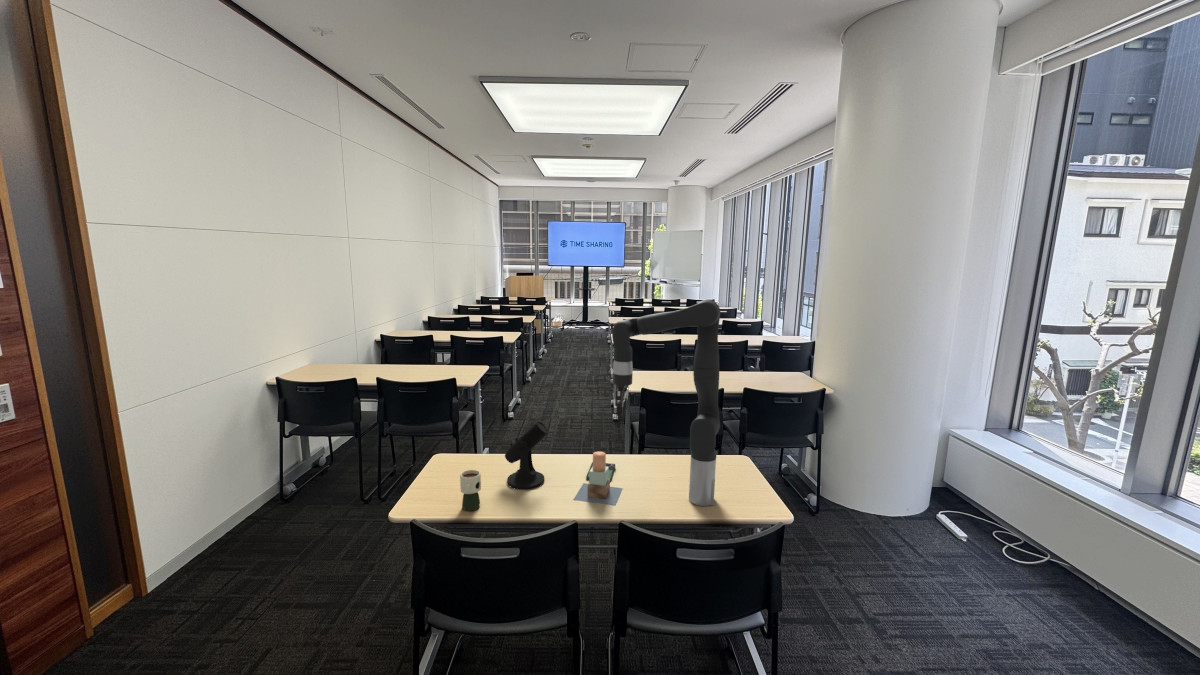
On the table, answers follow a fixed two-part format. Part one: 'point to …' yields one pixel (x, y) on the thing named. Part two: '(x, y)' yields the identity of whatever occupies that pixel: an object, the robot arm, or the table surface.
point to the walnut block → (599, 490)
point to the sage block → (598, 477)
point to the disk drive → (611, 470)
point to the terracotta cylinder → (599, 461)
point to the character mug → (470, 489)
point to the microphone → (526, 458)
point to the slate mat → (610, 499)
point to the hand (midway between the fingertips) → (621, 412)
